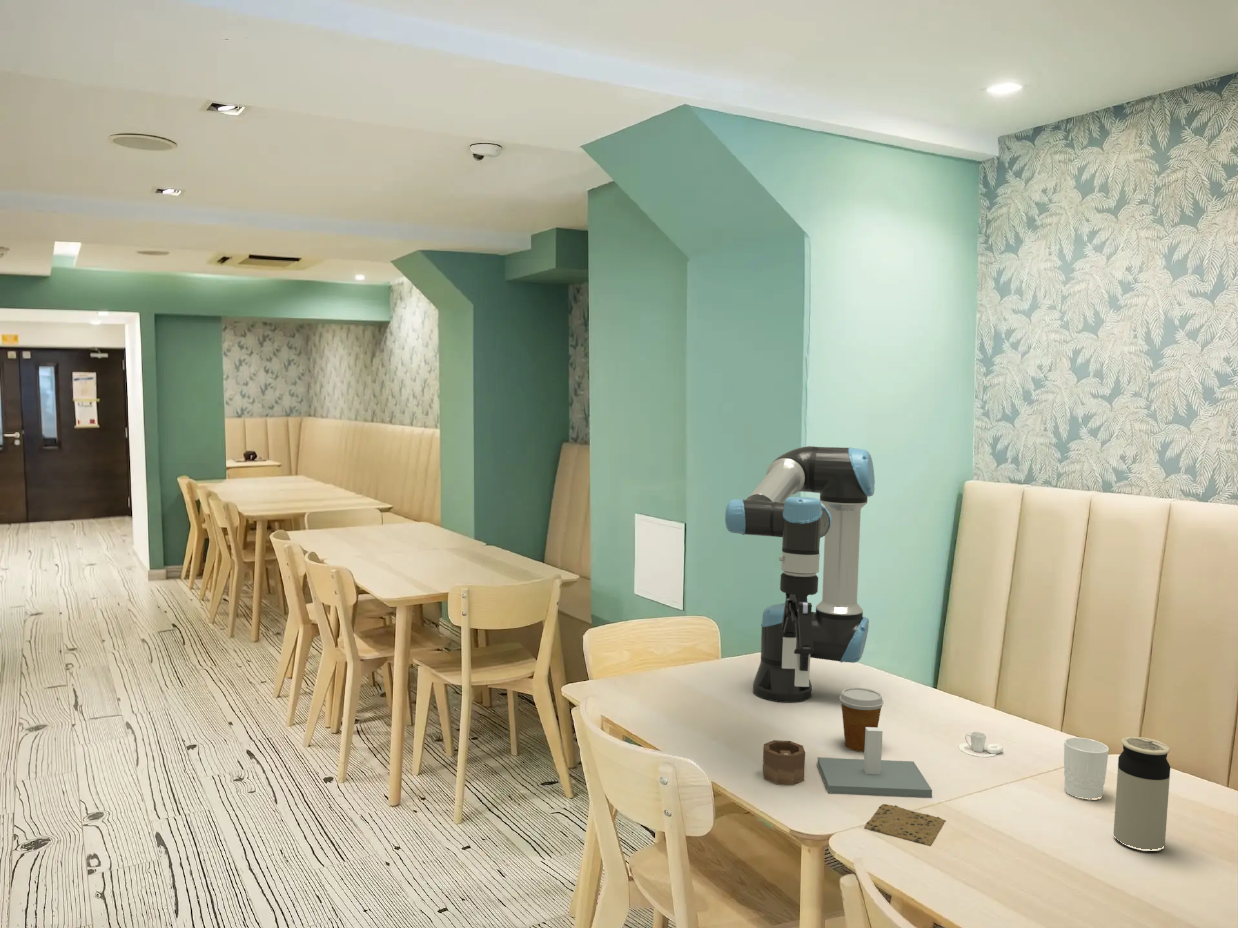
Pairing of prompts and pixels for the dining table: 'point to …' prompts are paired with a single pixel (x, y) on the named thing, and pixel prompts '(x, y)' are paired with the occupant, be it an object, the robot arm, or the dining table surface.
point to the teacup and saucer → (980, 745)
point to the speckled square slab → (905, 824)
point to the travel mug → (1142, 793)
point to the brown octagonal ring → (783, 762)
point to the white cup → (1085, 767)
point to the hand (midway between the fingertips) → (794, 676)
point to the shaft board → (873, 773)
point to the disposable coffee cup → (859, 715)
